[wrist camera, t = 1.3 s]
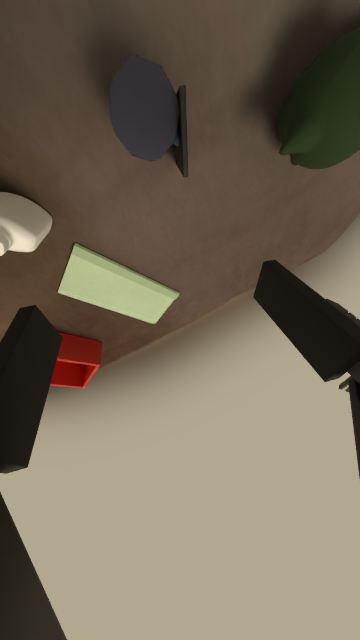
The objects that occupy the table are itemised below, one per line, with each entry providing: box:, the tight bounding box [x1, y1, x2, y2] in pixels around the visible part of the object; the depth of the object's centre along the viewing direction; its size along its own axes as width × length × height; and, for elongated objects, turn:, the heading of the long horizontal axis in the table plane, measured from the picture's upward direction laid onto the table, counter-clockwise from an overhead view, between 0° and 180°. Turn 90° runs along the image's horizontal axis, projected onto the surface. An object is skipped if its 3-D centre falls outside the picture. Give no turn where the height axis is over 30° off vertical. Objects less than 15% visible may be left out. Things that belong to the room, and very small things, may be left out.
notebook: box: [58, 243, 179, 324], centre depth 35 cm, size 20×10×1 cm, turn 54°
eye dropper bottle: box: [0, 192, 52, 256], centre depth 20 cm, size 4×6×12 cm
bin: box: [50, 332, 102, 388], centre depth 41 cm, size 11×10×6 cm
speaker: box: [110, 56, 188, 177], centre depth 18 cm, size 8×6×10 cm
